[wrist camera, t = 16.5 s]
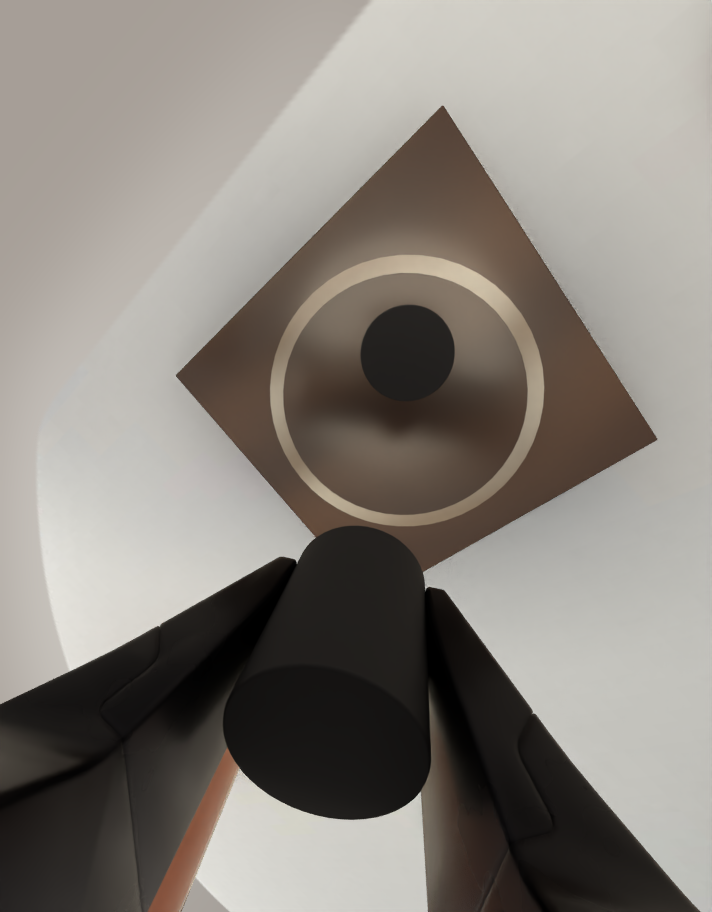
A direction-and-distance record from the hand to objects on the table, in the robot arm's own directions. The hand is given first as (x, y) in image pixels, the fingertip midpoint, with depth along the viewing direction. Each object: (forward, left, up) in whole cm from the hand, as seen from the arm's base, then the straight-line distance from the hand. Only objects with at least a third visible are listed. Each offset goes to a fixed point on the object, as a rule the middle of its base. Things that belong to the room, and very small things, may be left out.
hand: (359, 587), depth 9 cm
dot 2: (-5, +2, -10) cm, 11 cm away
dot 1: (0, 0, 0) cm, 0 cm away
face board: (-2, +1, -11) cm, 11 cm away
